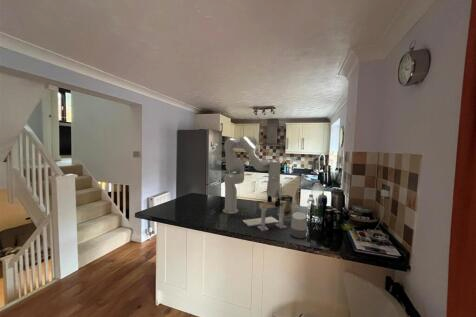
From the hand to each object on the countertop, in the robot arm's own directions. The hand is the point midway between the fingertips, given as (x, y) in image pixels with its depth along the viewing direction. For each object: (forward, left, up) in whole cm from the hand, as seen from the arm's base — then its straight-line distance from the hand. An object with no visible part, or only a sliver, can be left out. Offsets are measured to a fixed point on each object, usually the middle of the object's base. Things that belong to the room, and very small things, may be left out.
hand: (273, 204), depth 137 cm
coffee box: (-16, +21, -16) cm, 31 cm away
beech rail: (0, 0, -2) cm, 2 cm away
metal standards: (0, 0, -16) cm, 16 cm away
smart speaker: (+17, +8, -16) cm, 24 cm away
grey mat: (-12, -2, -16) cm, 20 cm away
